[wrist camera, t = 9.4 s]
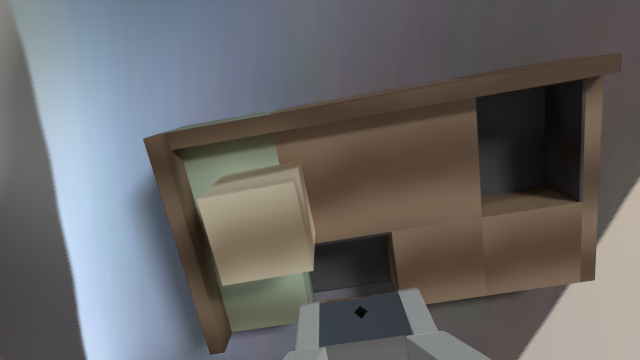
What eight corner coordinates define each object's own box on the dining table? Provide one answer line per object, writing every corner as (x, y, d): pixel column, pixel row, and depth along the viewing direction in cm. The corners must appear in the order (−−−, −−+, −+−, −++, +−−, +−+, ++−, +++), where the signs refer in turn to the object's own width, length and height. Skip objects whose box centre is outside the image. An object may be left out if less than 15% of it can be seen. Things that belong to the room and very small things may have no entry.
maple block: (224, 174, 22) (196, 199, 17) (300, 160, 22) (293, 182, 17) (243, 244, 23) (222, 285, 19) (315, 231, 23) (313, 270, 18)
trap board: (184, 126, 25) (143, 138, 19) (558, 59, 24) (634, 51, 18) (232, 301, 29) (210, 354, 23) (556, 253, 28) (618, 297, 22)
